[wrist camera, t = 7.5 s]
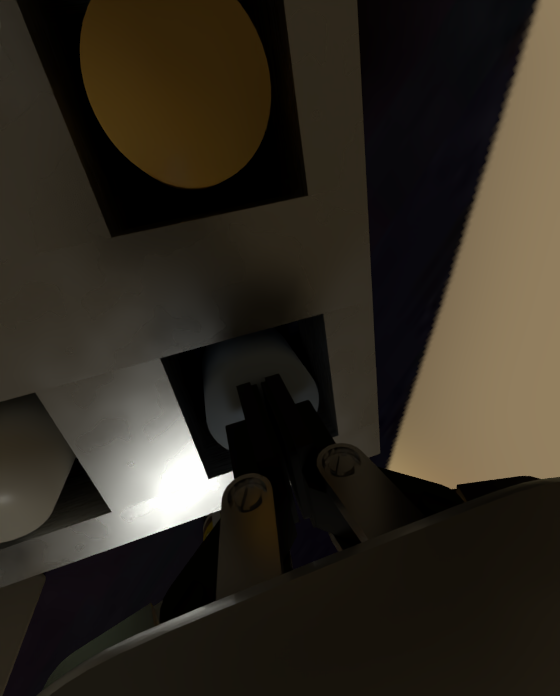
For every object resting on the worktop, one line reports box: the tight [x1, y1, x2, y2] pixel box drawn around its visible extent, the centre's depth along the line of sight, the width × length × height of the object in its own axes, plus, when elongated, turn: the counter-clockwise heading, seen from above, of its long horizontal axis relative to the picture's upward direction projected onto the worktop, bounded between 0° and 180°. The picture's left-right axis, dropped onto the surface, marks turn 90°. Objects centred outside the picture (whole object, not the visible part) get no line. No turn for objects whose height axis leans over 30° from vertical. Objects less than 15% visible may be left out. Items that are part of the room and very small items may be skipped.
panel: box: [0, 0, 380, 588], centre depth 12 cm, size 20×20×4 cm
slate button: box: [202, 327, 319, 450], centre depth 14 cm, size 4×4×4 cm
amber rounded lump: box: [80, 0, 271, 191], centre depth 10 cm, size 4×4×4 cm
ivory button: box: [0, 393, 76, 543], centre depth 13 cm, size 4×4×4 cm
